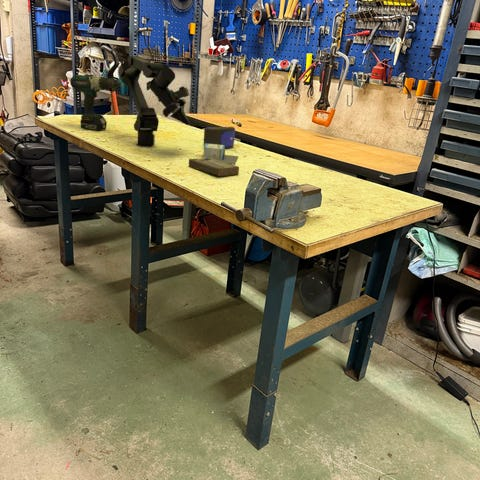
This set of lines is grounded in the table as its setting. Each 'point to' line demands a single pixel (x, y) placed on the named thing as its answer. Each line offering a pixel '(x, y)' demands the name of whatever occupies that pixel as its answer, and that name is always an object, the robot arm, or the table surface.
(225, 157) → the mat
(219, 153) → the medicine box
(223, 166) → the box
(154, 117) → the robot arm
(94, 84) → the power drill
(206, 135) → the leaning round-cornered charcoal block
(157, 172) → the table surface
